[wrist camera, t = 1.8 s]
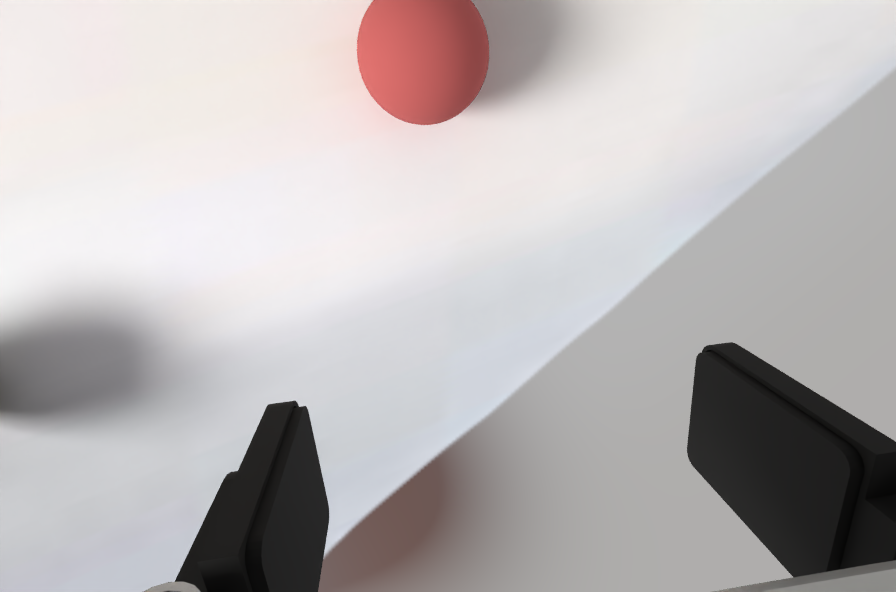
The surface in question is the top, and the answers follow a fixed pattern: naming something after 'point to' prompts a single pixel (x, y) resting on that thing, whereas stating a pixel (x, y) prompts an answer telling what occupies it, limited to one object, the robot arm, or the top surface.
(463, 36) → the ball
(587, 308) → the top surface
